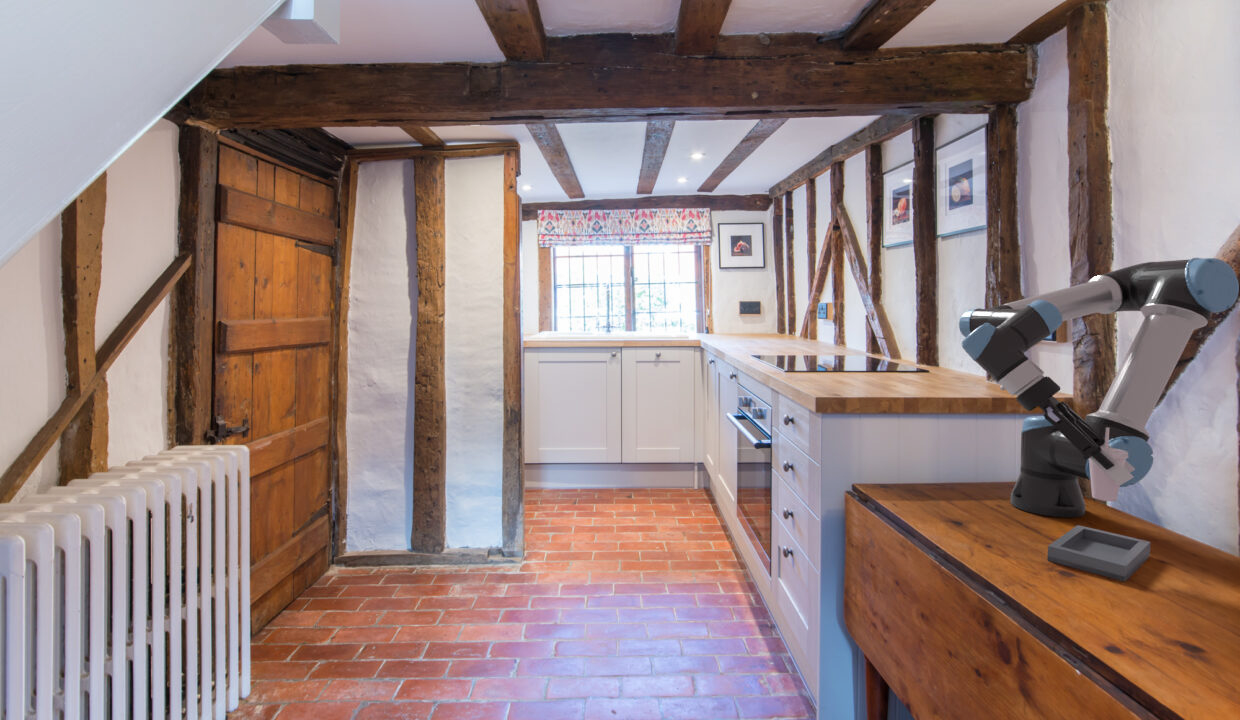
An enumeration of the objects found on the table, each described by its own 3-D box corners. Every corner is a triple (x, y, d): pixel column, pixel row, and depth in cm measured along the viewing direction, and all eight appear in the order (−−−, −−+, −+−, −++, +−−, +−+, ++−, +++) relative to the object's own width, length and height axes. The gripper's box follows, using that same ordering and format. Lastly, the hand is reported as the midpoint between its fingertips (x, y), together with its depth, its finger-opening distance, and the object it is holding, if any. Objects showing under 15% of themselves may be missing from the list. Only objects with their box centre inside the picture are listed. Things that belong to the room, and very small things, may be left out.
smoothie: (1116, 495, 119) (1121, 426, 118) (1131, 505, 113) (1137, 432, 112) (1078, 492, 121) (1082, 424, 120) (1091, 501, 115) (1096, 430, 114)
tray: (1076, 538, 129) (1077, 524, 129) (1149, 556, 119) (1150, 541, 119) (1047, 560, 118) (1048, 545, 118) (1124, 582, 108) (1126, 566, 108)
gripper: (1022, 392, 133) (1112, 477, 124) (1005, 403, 119) (1105, 499, 110) (1052, 370, 129) (1147, 456, 120) (1038, 378, 115) (1145, 476, 106)
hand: (1127, 476), depth 115 cm, fingers closed on smoothie, 6 cm apart
